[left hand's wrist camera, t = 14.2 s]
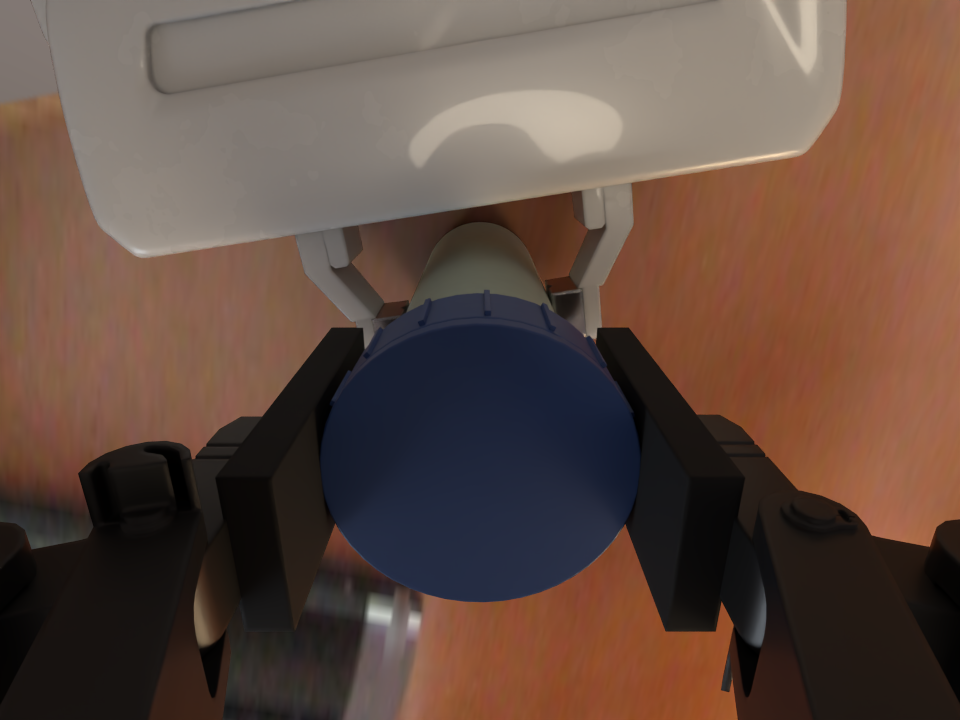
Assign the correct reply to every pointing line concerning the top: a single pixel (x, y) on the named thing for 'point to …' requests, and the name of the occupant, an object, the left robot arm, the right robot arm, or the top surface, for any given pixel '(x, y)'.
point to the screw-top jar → (480, 266)
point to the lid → (480, 450)
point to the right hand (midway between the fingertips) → (485, 349)
